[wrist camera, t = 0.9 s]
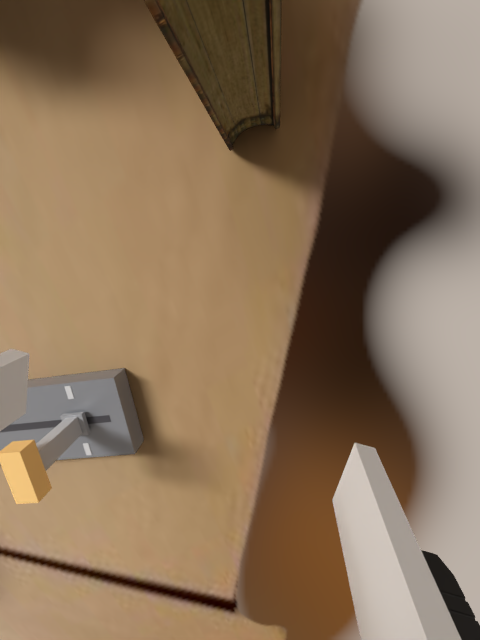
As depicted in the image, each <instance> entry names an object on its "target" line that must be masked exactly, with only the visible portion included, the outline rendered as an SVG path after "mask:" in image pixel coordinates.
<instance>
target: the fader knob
mask: <svg viewBox="0 0 480 640" xmlns="http://www.w3.org/2000/svg"><path fill="white" fill-rule="evenodd" d="M60 417H61V420H62V422H61V423H59V424H58V425H57V426H56V427H55V428H54V429H53V430H51V431H50V432H49V433H48V434H47V435H46V436H44V437H43V438H42V439H41V440H40V441H39V442H38V443H35V440H23V441H12V442H11V443H10V444H9V445H7V446H6V447H5V448H3V449H2V450H1V451H0V464H1V466H2V469H3V471H4V474H5V477H6V479H7V482H8V484H9V487H10V489H11V492H12V494H13V497H14V499H15V502H16V504H24V503H39V502H40V501H41V499H42V498H43V497H44V496H45V495H46V494H47V493H48V492H49V491H50V489H51V488H52V487H51V484H50V482H49V479H48V476H47V473H46V470H47V469H48V468H49V467H50V466H51V465H52V464H53V463H54V462H55V461H56V460H57V459H58V458H59V457H60V456H61V455H62V454H63V453H64V452H65V451H66V450H67V449H68V448H69V447H70V446H71V445H72V444H73V443H74V442H75V440H76V439H77V438H78V437H79V436H82V435H89V433H90V429H89V425H88V422H87V419H86V416H85V413H84V412H77V413H67V414H62V415H61V416H60Z"/></svg>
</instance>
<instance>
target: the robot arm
mask: <svg viewBox="0 0 480 640" xmlns="http://www.w3.org/2000/svg"><path fill="white" fill-rule="evenodd" d="M28 368H29V353H25V352H22V351H18V350H14V349H10V350H7V351H5V352H2V353H0V431H1V430H3V429H4V428H6V427H7V426H8V425H10V424H11V423H13V422H14V421H15V420H17V419H18V418H20V417H21V416H23V415H24V414H25V413H26V402H27V385H28ZM333 505H334V510H335V515H336V520H337V525H338V530H339V535H340V540H341V544H342V550H343V554H344V559H345V564H346V569H347V574H348V579H349V584H350V589H351V593H352V599H353V603H354V608H355V613H356V618H357V623H358V628H359V633H360V638H361V640H480V625H479V623H478V622H477V621H475V615H474V614H473V612H472V610H471V608H470V606H469V604H468V602H466V601H465V596H464V594H463V592H462V590H461V588H460V587H459V584H458V583H457V581H456V579H455V577H454V575H453V574H452V573H451V571H450V570H449V569H448V568H447V566H446V565H445V564H444V563H443V562H442V560H441V559H440V558H439V557H438V555H436V554H433V553H429V552H426V551H422V550H421V549H420V547H419V545H418V543H417V540H416V538H415V536H414V534H413V532H412V529H411V527H410V525H409V523H408V520H407V518H406V516H405V514H404V512H403V510H402V507H401V506H400V503H399V500H398V498H397V496H396V494H395V492H394V489H393V487H392V485H391V483H390V481H389V478H388V476H387V474H386V472H385V470H384V467H383V465H382V463H381V461H380V458H379V456H378V454H377V452H376V450H375V448H373V447H369V446H365V445H361V444H358V443H354V446H353V448H352V451H351V454H350V456H349V459H348V461H347V464H346V467H345V469H344V472H343V474H342V477H341V479H340V482H339V485H338V487H337V490H336V492H335V495H334V497H333Z"/></svg>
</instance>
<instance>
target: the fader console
mask: <svg viewBox="0 0 480 640" xmlns="http://www.w3.org/2000/svg"><path fill="white" fill-rule="evenodd" d="M77 412H84V413H85V416H86V419H87V422H88V425H89V429H90V433H89V435H82V436H79V437H78V438H77V439H76V440H75V442H74V443H73V444H72V445H71V446H70V447H69V448H68V449H67V450H66V451H65V452H64V453H63V454H62V455H61V456H60V457H59V458H58V459H57V460H63V459H76V458H89V457H102V456H115V455H128V454H135V453H136V452H137V450H138V449H139V447H140V445H141V444H142V442H143V441H144V438H143V435H142V431H141V427H140V424H139V420H138V416H137V412H136V409H135V405H134V401H133V398H132V394H131V390H130V386H129V383H128V379H127V375H126V372H125V368H122V369H113V370H105V371H97V372H88V373H80V374H72V375H63V376H55V377H47V378H38V379H30V380H28V385H27V402H26V413H25V414H24V415H23V416H21V417H20V418H18V419H17V420H15V421H14V422H13V423H11V424H10V425H8V426H7V427H6V428H4V429H3V430H1V431H0V451H1V450H2V449H3V448H5V447H6V446H7V445H9V444H10V443H11V442H12V441H23V440H35V443H38V442H39V441H40V440H41V439H42V438H43V437H44V436H46V435H47V434H48V433H49V432H50V431H51V430H53V429H54V428H55V427H56V426H57V425H58V424H59V423H61V422H62V420H61V417H60V416H61V415H62V414H67V413H77Z"/></svg>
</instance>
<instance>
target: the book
mask: <svg viewBox="0 0 480 640" xmlns="http://www.w3.org/2000/svg"><path fill="white" fill-rule="evenodd" d="M144 1H145V3H146V5H147V7H148V9H149V10H150V12H151V14H152V16H153V18H154V19H155V21H156V23H157V25H158V27H159V28H160V30H161V32H162V34H163V35H164V37H165V39H166V40H167V42H168V44H169V46H170V47H171V49H172V51H173V53H174V54H175V56H176V58H177V60H178V61H179V63H180V65H181V67H182V68H183V70H184V72H185V74H186V75H187V77H188V79H189V81H190V82H191V84H192V86H193V87H194V89H195V91H196V93H197V94H198V96H199V98H200V100H201V101H202V103H203V105H204V107H205V108H206V110H207V112H208V114H209V115H210V117H211V119H212V121H213V122H214V124H215V126H216V128H217V129H218V131H219V133H220V134H221V136H222V138H223V140H224V141H225V143H226V145H227V147H228V148H229V150H233V146H232V145H233V143H234V141H235V139H236V138H237V137H238V135H239V134H240V133H242V132H243V131H244V130H246V129H248V128H250V127H253V126H257V125H273V126H274V128H275V129H277V128H279V127H280V69H281V0H144Z"/></svg>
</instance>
